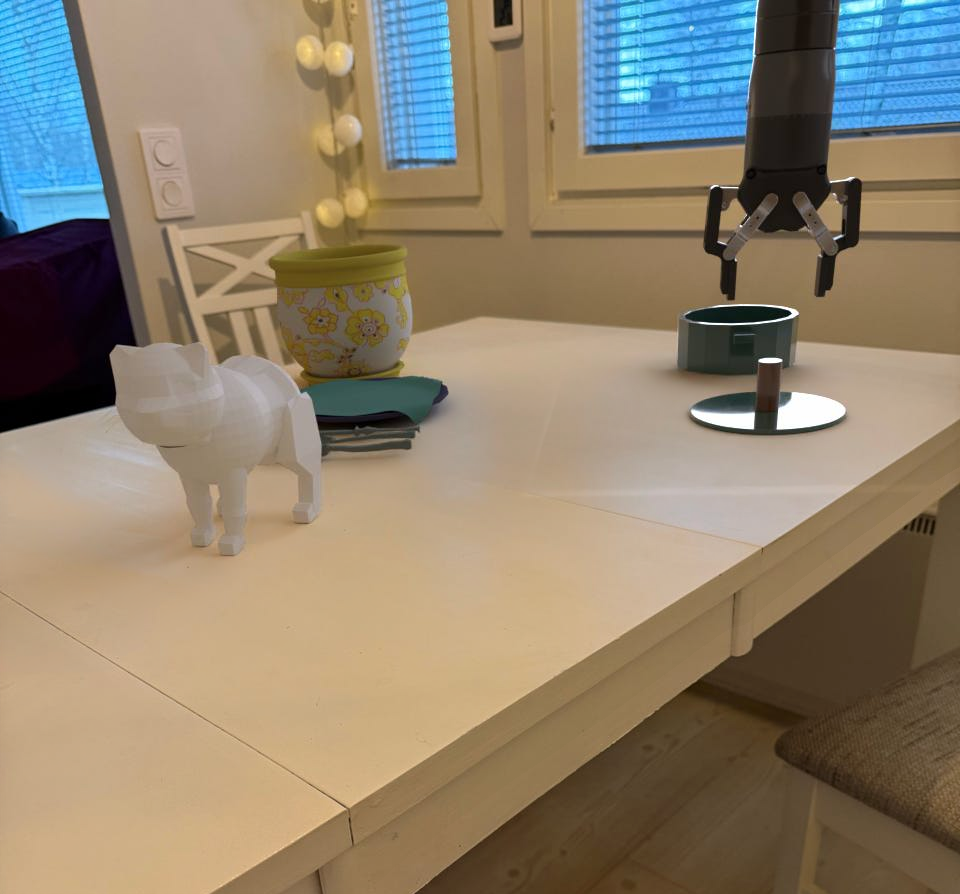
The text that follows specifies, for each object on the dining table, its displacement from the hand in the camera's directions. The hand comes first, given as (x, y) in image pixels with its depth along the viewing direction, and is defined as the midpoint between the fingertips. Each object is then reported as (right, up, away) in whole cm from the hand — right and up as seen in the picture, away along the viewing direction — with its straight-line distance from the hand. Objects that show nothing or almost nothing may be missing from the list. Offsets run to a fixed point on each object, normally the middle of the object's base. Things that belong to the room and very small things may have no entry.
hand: (774, 297), depth 94 cm
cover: (+1, -10, +5) cm, 12 cm away
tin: (+4, +1, +29) cm, 29 cm away
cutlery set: (-43, -9, +16) cm, 47 cm away
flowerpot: (-47, +2, +37) cm, 59 cm away
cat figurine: (-49, -25, -13) cm, 56 cm away
